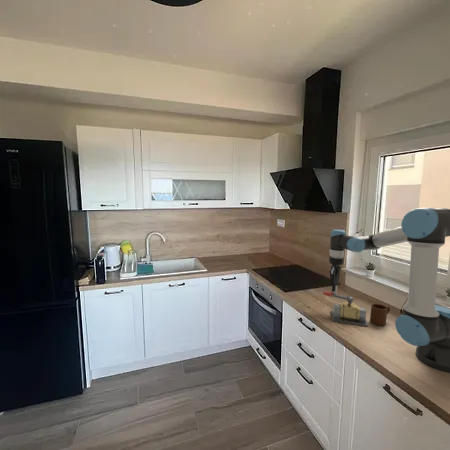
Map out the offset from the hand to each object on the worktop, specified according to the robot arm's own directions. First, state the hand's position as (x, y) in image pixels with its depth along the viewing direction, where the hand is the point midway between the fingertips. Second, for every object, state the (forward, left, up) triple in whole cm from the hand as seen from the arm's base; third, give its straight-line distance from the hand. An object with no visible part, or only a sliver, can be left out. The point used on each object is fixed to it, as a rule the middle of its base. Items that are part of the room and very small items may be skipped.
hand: (333, 296), depth 149 cm
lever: (-3, -2, 0) cm, 4 cm away
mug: (-3, -25, -11) cm, 27 cm away
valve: (-5, -8, -10) cm, 14 cm away
